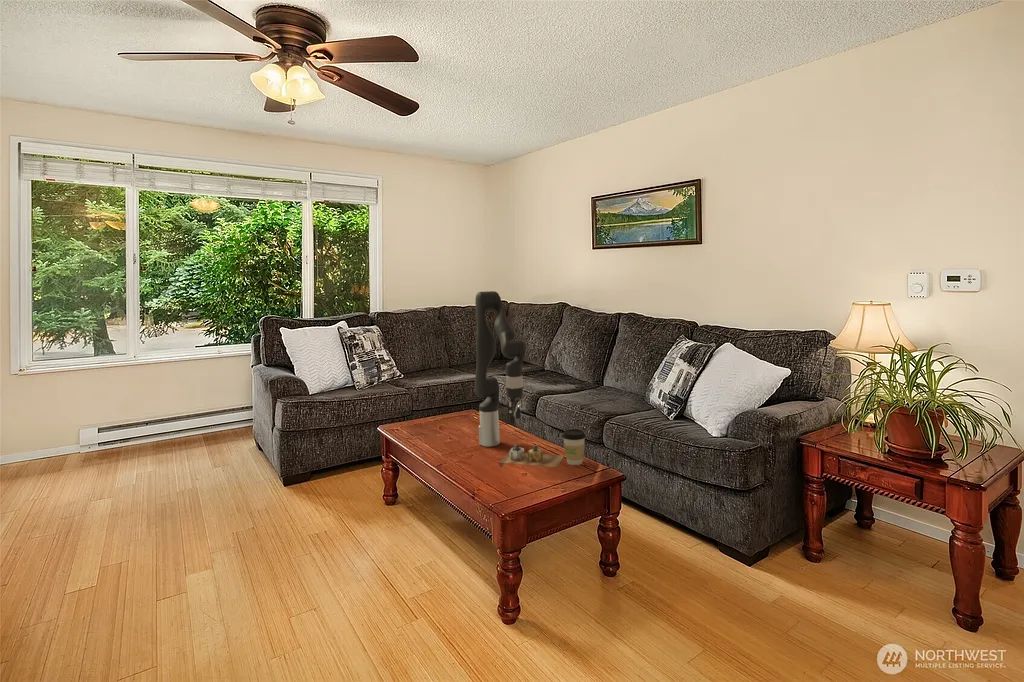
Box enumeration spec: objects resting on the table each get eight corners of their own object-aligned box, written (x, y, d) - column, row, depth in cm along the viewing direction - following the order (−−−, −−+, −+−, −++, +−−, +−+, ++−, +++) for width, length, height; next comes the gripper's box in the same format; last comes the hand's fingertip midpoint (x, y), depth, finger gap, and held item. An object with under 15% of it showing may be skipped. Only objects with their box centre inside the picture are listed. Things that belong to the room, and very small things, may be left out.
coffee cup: (561, 462, 232) (560, 429, 230) (583, 460, 233) (582, 427, 231) (565, 470, 223) (564, 436, 221) (588, 469, 224) (587, 434, 221)
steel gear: (509, 459, 234) (509, 451, 233) (513, 455, 239) (512, 446, 239) (521, 460, 232) (521, 451, 232) (524, 456, 237) (524, 447, 237)
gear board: (499, 465, 231) (498, 449, 230) (509, 454, 244) (508, 439, 243) (557, 470, 223) (557, 453, 222) (564, 458, 236) (564, 442, 235)
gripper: (511, 381, 239) (512, 416, 241) (501, 389, 225) (502, 425, 228) (527, 382, 236) (528, 417, 239) (517, 389, 223) (518, 426, 226)
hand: (515, 421), depth 233 cm, fingers open, 8 cm apart
